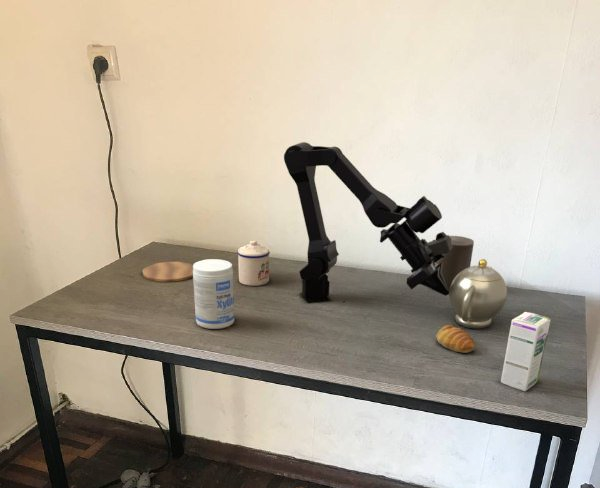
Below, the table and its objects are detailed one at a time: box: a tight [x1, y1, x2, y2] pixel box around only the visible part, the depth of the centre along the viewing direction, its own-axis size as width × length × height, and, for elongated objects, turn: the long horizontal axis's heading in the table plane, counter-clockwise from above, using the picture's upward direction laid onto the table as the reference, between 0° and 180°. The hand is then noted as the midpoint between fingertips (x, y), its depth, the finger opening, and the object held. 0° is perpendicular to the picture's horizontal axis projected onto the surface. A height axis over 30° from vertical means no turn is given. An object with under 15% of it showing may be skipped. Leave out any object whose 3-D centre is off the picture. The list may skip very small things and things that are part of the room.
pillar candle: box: [435, 235, 475, 290], centre depth 178 cm, size 10×10×15 cm
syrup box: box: [500, 311, 551, 392], centre depth 129 cm, size 6×6×14 cm
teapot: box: [448, 258, 508, 330], centre depth 154 cm, size 18×14×16 cm
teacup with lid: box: [237, 240, 271, 287], centre depth 181 cm, size 12×9×12 cm
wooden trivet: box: [142, 261, 194, 283], centre depth 188 cm, size 16×16×1 cm
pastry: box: [435, 324, 476, 354], centre depth 146 cm, size 9×7×4 cm
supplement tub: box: [192, 258, 235, 330], centre depth 153 cm, size 10×10×15 cm
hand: (447, 294), depth 158 cm, fingers closed, pressing on teapot
